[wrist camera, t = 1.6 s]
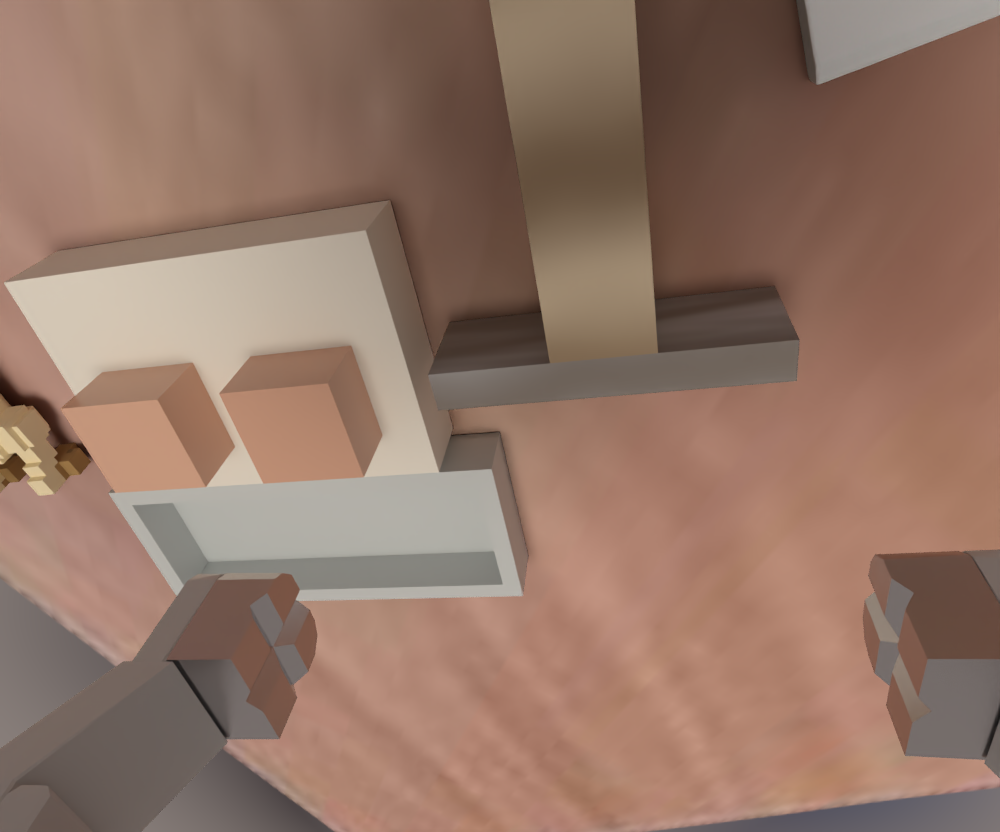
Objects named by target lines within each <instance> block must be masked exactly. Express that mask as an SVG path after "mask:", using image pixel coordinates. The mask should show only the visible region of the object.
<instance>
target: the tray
mask: <svg viewBox="0 0 1000 832" xmlns="http://www.w3.org/2000/svg"><path fill="white" fill-rule="evenodd" d="M109 495H110V496H111V498H112V499H113V501H114V502H115V504H116V505H117V507H118V508H119V510H120V511H121V513H122V514H123V516H124V517H125V519H126V520H127V522H128V523H129V525H130V526H131V528H132V529H133V531H134V532H135V534H136V535H137V537H138V539H139V540H140V542H141V543H142V545H143V546H144V548H145V549H146V551H147V552H148V554H149V555H150V557H151V558H152V560H153V561H154V563H155V564H156V566H157V567H158V569H159V570H160V572H161V573H162V575H163V576H164V578H165V579H166V581H167V582H168V584H169V585H170V587H171V588H172V590H173V591H174V593H175V594H176V596H177V595H178V594H179V592H180V591H181V589H182V588H183V586H184V585H185V584H186V582H187V581H188V580H189V579H191V578H192V577H194V576H195V575H197V574H226V573H285V574H291V575H292V576H293V578H294V580H295V582H296V583H297V585H298V587H299V589H300V591H299V593H298V596H297V598H296V600H297V601H321V600H366V599H411V598H455V597H500V596H523V592H524V585H525V577H526V569H527V562H528V553H527V548H526V544H525V540H524V535H523V531H522V527H521V522H520V518H519V514H518V509H517V505H516V501H515V496H514V492H513V488H512V483H511V479H510V475H509V470H508V466H507V462H506V457H505V453H504V448H503V444H502V440H501V435H500V432H493V433H480V434H466V435H453V436H450V439H449V442H448V446H447V449H446V452H445V455H444V458H443V462H442V465H441V468H440V471H439V472H438V473H422V474H406V475H390V476H374V477H361V478H345V479H329V480H313V481H297V482H282V483H266V484H247V485H231V486H215V487H202V488H186V489H170V490H154V491H138V492H122V493H115V492H114V490H113V489H112V490H111V491H110V492H109Z"/></svg>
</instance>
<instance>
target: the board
mask: <svg viewBox="0 0 1000 832" xmlns="http://www.w3.org/2000/svg"><path fill="white" fill-rule="evenodd" d="M4 284H5V286H6V287H7V289H8V290H9V292H10V293H11V295H12V297H13V298H14V300H15V301H16V303H17V305H18V306H19V308H20V309H21V311H22V312H23V314H24V316H25V317H26V319H27V320H28V322H29V323H30V325H31V327H32V328H33V330H34V331H35V333H36V335H37V336H38V338H39V339H40V341H41V342H42V344H43V346H44V347H45V349H46V350H47V352H48V353H49V355H50V357H51V358H52V360H53V361H54V363H55V365H56V366H57V368H58V369H59V371H60V372H61V374H62V376H63V377H64V379H65V380H66V382H67V383H68V385H69V387H70V388H71V390H72V391H73V393H74V395H75V396H76V395H77V394H78V393H79V392H80V391H81V390H82V389H84V388H85V387H86V386H87V385H88V384H89V383H90V382H92V381H93V380H94V379H95V378H96V377H97V376H98V375H100V374H101V373H102V372H109V371H119V370H128V369H137V368H147V367H156V366H165V365H175V364H184V363H193V364H194V366H195V368H196V370H197V372H198V374H199V376H200V378H201V380H202V382H203V384H204V386H205V388H206V390H207V392H208V394H209V396H210V398H211V400H212V402H213V404H214V406H215V408H216V410H217V412H218V414H219V416H220V418H221V419H222V421H223V423H224V425H225V427H226V429H227V431H228V433H229V435H230V437H231V439H232V441H233V443H234V445H235V448H234V449H233V451H232V452H231V453H230V455H229V456H228V457H227V459H226V460H225V462H224V463H223V464H222V466H221V467H220V469H219V470H218V471H217V473H216V474H215V475H214V477H213V478H212V480H211V481H210V482H209V484H208V485H207V487H215V486H231V485H247V484H263V482H262V480H261V478H260V476H259V474H258V472H257V470H256V468H255V466H254V464H253V462H252V460H251V458H250V456H249V454H248V452H247V450H246V448H245V446H244V444H243V442H242V440H241V438H240V435H239V433H238V431H237V429H236V427H235V425H234V423H233V421H232V419H231V417H230V415H229V413H228V411H227V409H226V407H225V405H224V403H223V401H222V399H221V397H220V395H219V393H220V392H221V391H222V390H223V388H224V387H225V386H226V385H227V384H228V382H229V381H230V380H231V379H232V378H233V376H234V375H235V374H236V373H237V372H238V370H239V369H240V368H241V367H242V366H243V364H244V363H245V362H246V361H247V360H248V359H249V357H250V356H259V355H268V354H278V353H287V352H296V351H306V350H315V349H324V348H334V347H343V346H352V349H353V352H354V355H355V358H356V361H357V363H358V366H359V369H360V372H361V375H362V378H363V381H364V383H365V386H366V389H367V392H368V395H369V398H370V401H371V404H372V406H373V409H374V412H375V415H376V418H377V421H378V424H379V426H380V429H381V432H382V435H383V436H382V438H381V440H380V443H379V445H378V447H377V449H376V452H375V454H374V456H373V458H372V460H371V463H370V465H369V467H368V469H367V472H366V474H365V476H364V477H374V476H390V475H406V474H422V473H438V472H439V471H440V468H441V465H442V462H443V458H444V455H445V452H446V449H447V446H448V442H449V439H450V436H451V433H452V430H453V426H452V422H451V419H450V415H449V412H448V410H439V411H438V408H437V405H436V401H435V398H434V394H433V391H432V387H431V384H430V380H429V377H428V373H429V371H430V369H431V366H432V364H433V361H434V357H433V354H432V350H431V346H430V343H429V339H428V335H427V332H426V328H425V325H424V321H423V317H422V314H421V310H420V306H419V303H418V299H417V296H416V292H415V288H414V285H413V281H412V278H411V274H410V270H409V267H408V263H407V259H406V256H405V252H404V249H403V245H402V241H401V238H400V234H399V230H398V227H397V223H396V220H395V216H394V212H393V209H392V205H391V201H390V200H387V201H380V202H374V203H367V204H361V205H354V206H348V207H341V208H335V209H328V210H322V211H315V212H309V213H302V214H296V215H289V216H283V217H276V218H270V219H263V220H256V221H250V222H243V223H237V224H230V225H224V226H217V227H211V228H204V229H198V230H191V231H185V232H178V233H172V234H165V235H159V236H152V237H146V238H139V239H133V240H126V241H120V242H113V243H107V244H100V245H93V246H87V247H80V248H74V249H67V250H61V251H57V252H55V253H53V254H52V255H50V256H48V257H47V258H45V259H43V260H42V261H40V262H38V263H36V264H35V265H33V266H31V267H30V268H28V269H26V270H24V271H23V272H21V273H19V274H18V275H16V276H14V277H12V278H11V279H9V280H7V281H6V282H4Z"/></svg>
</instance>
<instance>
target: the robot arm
mask: <svg viewBox="0 0 1000 832" xmlns="http://www.w3.org/2000/svg"><path fill="white" fill-rule="evenodd" d="M868 576H869V579H870V581H871V584H872V586H873V589H874V591H875V592H874V593H873V594H871V595H870V596H869V597H868V598H867V599H865V602H864V612H863V627H864V639H865V643H866V647H867V651H868V655H869V658H870V661H871V664H872V667H873V670H874V673H875V674H876V675H877V676H878V677H880V678H881V679H882V680H883V681H884V682H886V683H887V684H888V685H889V686H890V687H889V693H888V698H887V704H886V706H887V709H888V711H889V714H890V717H891V719H892V722H893V725H894V727H895V730H896V733H897V735H898V738H899V741H900V744H901V746H902V749H903V752H904V754H905V756H922V757H941V758H960V759H980V760H985V763H984V764H986V765H987V766H988V767H989V768H990V769H991V770H992V771H993V772H994V773H995V774H996V775H997V776H998V777H999V778H1000V550H977V551H963V552H960V551H949V552H924V553H899V554H875V555H874V557H873V559H872V561H871V563H870V569H869V575H868ZM299 591H300V589H299V587H298V585H297V583H296V582H295V580H294V578H293V576H292V575H291V574H285V573H226V574H197V575H195V576H194V577H192V578H191V579H189V580H188V581H187V582H186V584H185V585H184V586H183V588H182V589H181V591H180V592H179V594H178V595H177V597H176V598H175V600H174V601H173V603H172V604H171V605H170V607H169V608H168V610H167V611H166V613H165V614H164V616H163V617H162V619H161V620H160V622H159V623H158V624H157V626H156V627H155V629H154V630H153V632H152V633H151V635H150V636H149V638H148V639H147V641H146V642H145V643H144V645H143V646H142V648H141V649H140V651H139V652H138V654H137V655H136V657H135V658H134V660H133V661H124V662H122V663H120V664H119V665H118V666H116V667H115V668H114V669H112V670H111V671H109V672H108V673H106V674H105V675H104V676H102V677H101V678H99V679H98V680H96V681H95V682H94V683H92V684H91V685H89V686H88V687H87V688H85V689H84V690H82V691H81V692H79V693H78V694H77V695H75V696H74V697H73V698H71V699H70V700H68V701H67V702H65V703H64V704H63V705H61V706H60V707H58V708H57V709H55V710H54V711H53V712H51V713H50V714H49V715H47V716H45V717H44V718H43V719H41V720H40V721H39V722H37V723H36V724H34V725H33V726H31V727H30V728H28V729H27V730H26V731H24V732H23V733H21V734H20V735H19V736H17V737H16V738H14V739H13V740H12V741H10V742H9V743H7V744H6V745H4V746H3V747H2V748H0V832H142V831H143V829H144V828H145V827H146V826H147V825H148V824H149V823H150V822H151V821H152V820H153V819H154V818H155V817H156V816H157V815H158V814H159V813H160V812H161V811H162V810H163V809H164V808H165V807H166V805H168V804H169V803H170V801H172V799H173V798H174V797H175V796H176V795H177V794H178V793H179V792H180V791H181V790H182V789H183V788H184V787H185V786H186V785H187V784H188V783H189V782H190V781H191V780H192V779H193V778H194V777H195V776H196V775H197V774H198V773H199V772H200V771H201V769H202V768H203V767H204V766H205V765H206V764H207V763H208V762H209V761H210V760H211V759H212V758H213V757H214V756H215V755H216V754H217V753H218V752H219V751H220V750H221V749H222V748H223V747H224V746H225V745H226V744H227V740H226V739H280V737H281V734H282V732H283V730H284V727H285V725H286V723H287V720H288V718H289V716H290V713H291V711H292V709H293V706H294V704H295V702H296V699H297V696H296V692H295V689H294V685H293V684H295V683H296V682H297V681H298V680H299V679H300V678H301V677H303V676H304V675H305V674H306V673H307V672H308V671H309V668H310V666H311V663H312V661H313V658H314V656H315V650H316V642H317V631H316V625H315V620H314V618H313V616H312V614H311V612H310V610H309V609H308V608H306V607H305V606H304V605H302V604H301V603H299V602H298V601H297V600H296V598H297V596H298V593H299Z"/></svg>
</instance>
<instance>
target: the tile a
mask: <svg viewBox="0 0 1000 832" xmlns="http://www.w3.org/2000/svg"><path fill="white" fill-rule="evenodd" d="M61 411H62V412H63V414H64V415H65V417H66V418H67V420H68V421H69V423H70V425H71V426H72V428H73V429H74V431H75V432H76V434H77V435H78V437H79V438H80V440H81V441H82V443H83V444H84V446H85V447H86V449H87V450H88V452H89V453H90V455H91V457H92V458H93V460H94V461H95V463H96V464H97V466H98V467H99V469H100V470H101V472H102V473H103V475H104V476H105V478H106V479H107V481H108V482H109V484H110V485H111V487H112V489H113V490H114V492H115V493H122V492H138V491H154V490H170V489H186V488H202V487H207V485H208V484H209V482H210V481H211V480H212V478H213V477H214V475H215V474H216V473H217V471H218V470H219V469H220V467H221V466H222V464H223V463H224V462H225V460H226V459H227V457H228V456H229V455H230V453H231V452H232V451H233V449H234V448H235V445H234V443H233V441H232V439H231V437H230V435H229V433H228V431H227V429H226V427H225V425H224V423H223V421H222V419H221V418H220V416H219V414H218V412H217V410H216V408H215V406H214V404H213V402H212V400H211V398H210V396H209V394H208V392H207V390H206V388H205V386H204V384H203V382H202V380H201V378H200V376H199V374H198V372H197V370H196V368H195V366H194V364H193V363H184V364H175V365H165V366H156V367H147V368H137V369H128V370H119V371H109V372H102V373H101V374H100V375H98V376H97V377H96V378H95V379H94V380H93V381H92V382H90V383H89V384H88V385H87V386H86V387H85V388H84V389H82V390H81V391H80V392H79V393H78V394H77V395H76V396H74V397H73V398H72V399H71V400H70V401H69V402H68V403H66V404H65V405H64V406H63V407H62V408H61Z"/></svg>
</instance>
